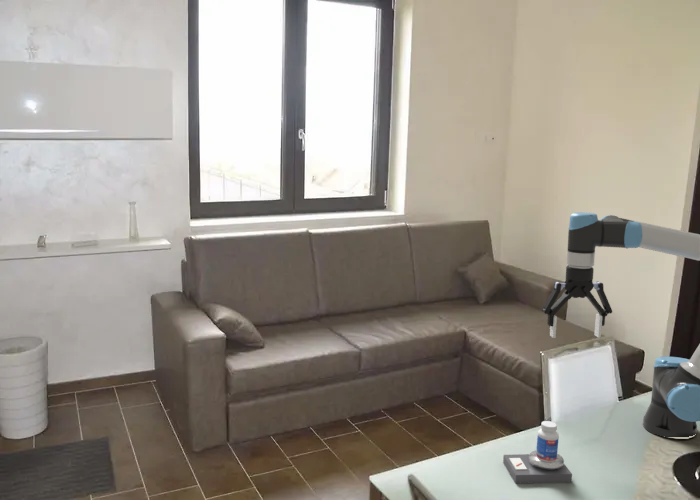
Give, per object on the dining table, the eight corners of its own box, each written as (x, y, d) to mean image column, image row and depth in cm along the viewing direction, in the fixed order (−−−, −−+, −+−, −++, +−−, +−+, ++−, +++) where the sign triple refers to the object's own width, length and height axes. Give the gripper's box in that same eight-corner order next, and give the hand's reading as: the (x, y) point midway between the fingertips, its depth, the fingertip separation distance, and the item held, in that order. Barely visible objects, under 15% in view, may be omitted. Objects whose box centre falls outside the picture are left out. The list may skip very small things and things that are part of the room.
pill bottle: (546, 464, 168) (548, 430, 166) (531, 455, 172) (533, 422, 171) (561, 460, 170) (563, 425, 169) (546, 451, 175) (548, 418, 173)
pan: (556, 453, 176) (556, 449, 176) (568, 469, 167) (569, 465, 167) (524, 453, 176) (524, 450, 175) (535, 470, 167) (535, 466, 167)
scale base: (555, 461, 178) (556, 451, 177) (571, 482, 167) (572, 471, 166) (503, 462, 177) (503, 452, 176) (515, 483, 166) (516, 472, 165)
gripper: (615, 263, 189) (610, 332, 192) (533, 263, 187) (529, 332, 191) (628, 268, 181) (622, 339, 185) (542, 268, 180) (538, 340, 183)
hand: (575, 336), depth 188 cm, fingers open, 13 cm apart
